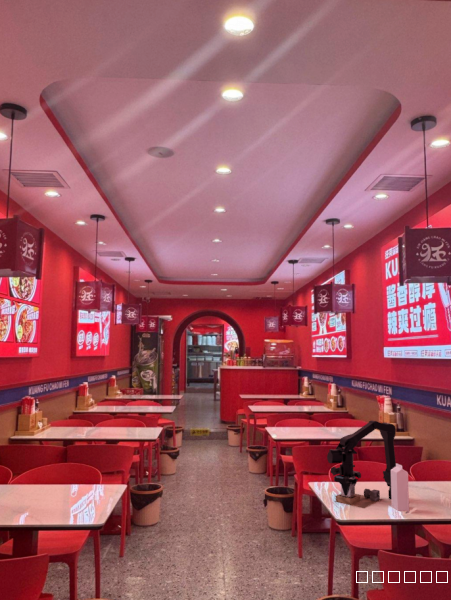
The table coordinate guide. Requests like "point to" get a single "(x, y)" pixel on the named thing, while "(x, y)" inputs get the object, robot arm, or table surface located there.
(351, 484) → the block
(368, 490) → the wheel
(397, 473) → the milk
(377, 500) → the frame
